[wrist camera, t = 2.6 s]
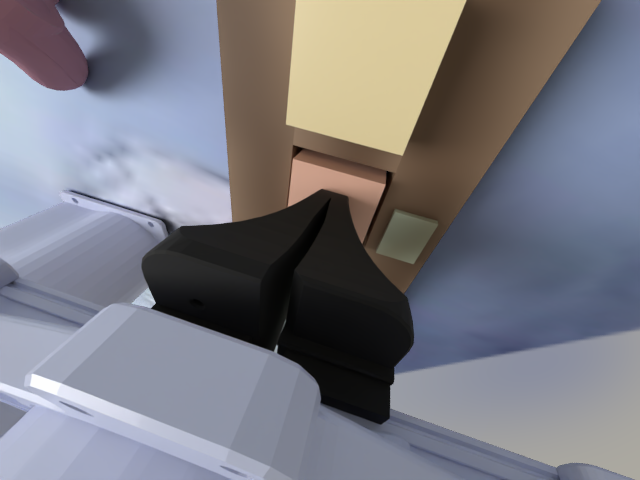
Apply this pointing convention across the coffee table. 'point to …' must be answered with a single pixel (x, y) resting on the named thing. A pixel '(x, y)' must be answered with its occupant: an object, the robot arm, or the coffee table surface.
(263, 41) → the keypad
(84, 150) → the coffee table surface
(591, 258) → the coffee table surface
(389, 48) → the ochre key
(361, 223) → the terracotta key
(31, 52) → the video game controller
